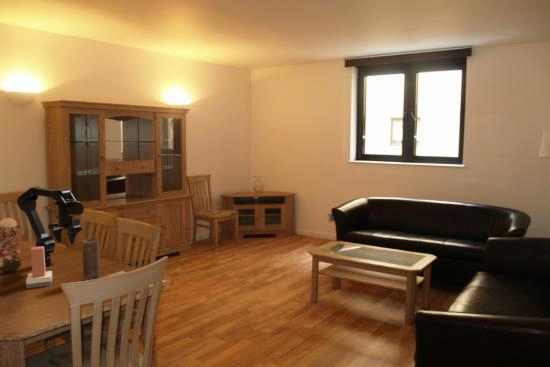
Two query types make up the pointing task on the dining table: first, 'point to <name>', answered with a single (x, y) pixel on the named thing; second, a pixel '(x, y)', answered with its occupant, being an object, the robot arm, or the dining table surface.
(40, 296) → the dining table surface
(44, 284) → the base block
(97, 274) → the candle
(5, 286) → the dining table surface
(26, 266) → the dining table surface
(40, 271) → the top brick
